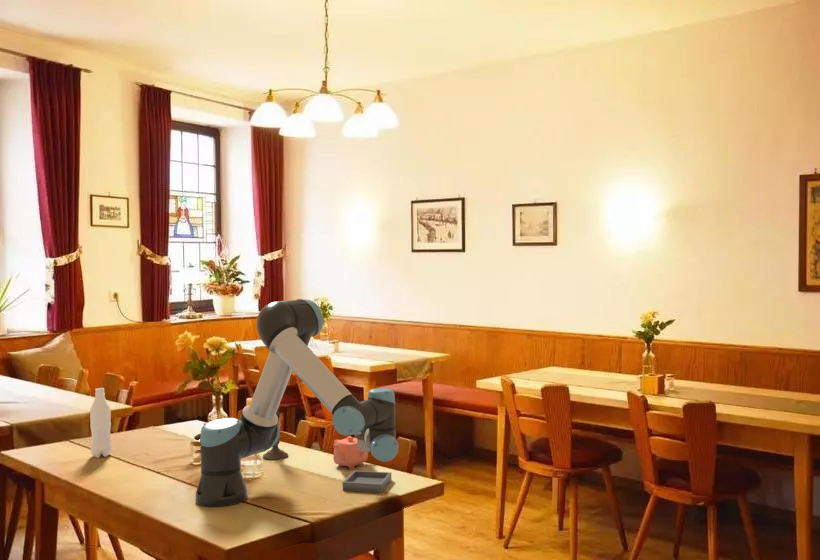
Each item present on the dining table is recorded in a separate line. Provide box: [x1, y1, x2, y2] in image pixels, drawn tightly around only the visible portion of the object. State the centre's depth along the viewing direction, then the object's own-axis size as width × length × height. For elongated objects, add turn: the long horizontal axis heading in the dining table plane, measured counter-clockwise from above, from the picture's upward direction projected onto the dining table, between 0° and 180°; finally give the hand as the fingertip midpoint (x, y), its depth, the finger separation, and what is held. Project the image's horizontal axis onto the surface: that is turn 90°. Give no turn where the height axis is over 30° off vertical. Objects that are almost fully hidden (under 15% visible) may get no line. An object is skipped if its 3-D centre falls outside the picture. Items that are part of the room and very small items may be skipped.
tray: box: [342, 469, 392, 494], centre depth 234 cm, size 13×13×2 cm
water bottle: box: [89, 387, 113, 459], centre depth 270 cm, size 7×7×25 cm
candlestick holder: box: [262, 405, 289, 461], centre depth 267 cm, size 9×9×30 cm
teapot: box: [332, 435, 369, 470], centre depth 256 cm, size 14×12×10 cm
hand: (364, 419), depth 238 cm, fingers closed on coffee cup, 8 cm apart
